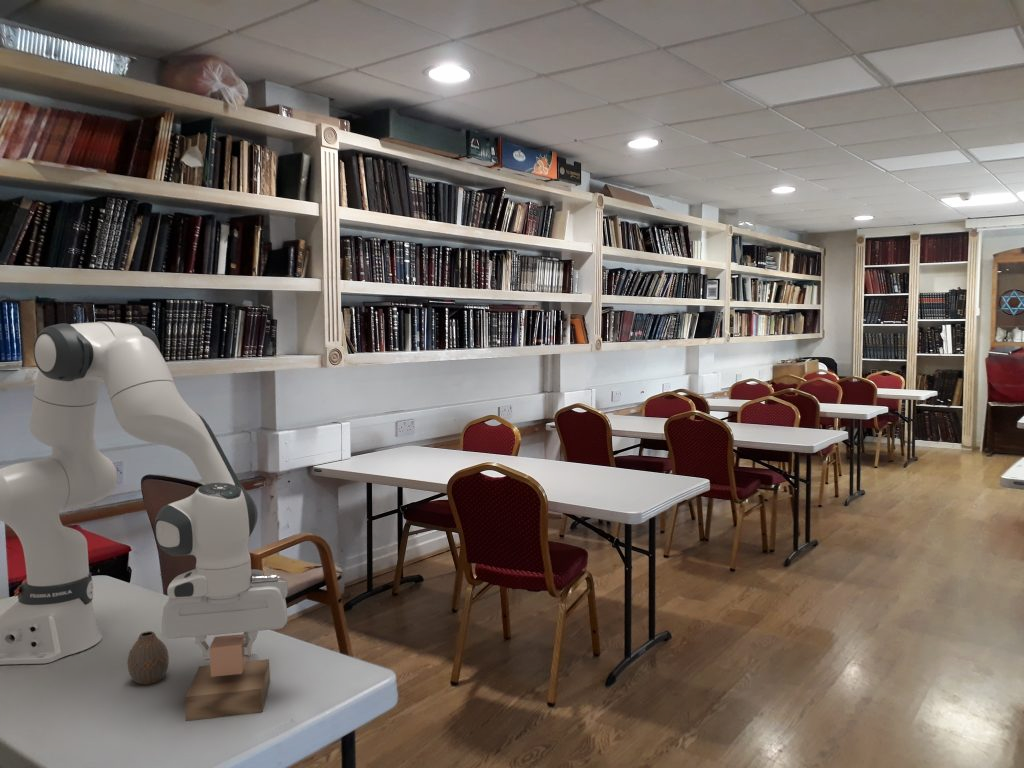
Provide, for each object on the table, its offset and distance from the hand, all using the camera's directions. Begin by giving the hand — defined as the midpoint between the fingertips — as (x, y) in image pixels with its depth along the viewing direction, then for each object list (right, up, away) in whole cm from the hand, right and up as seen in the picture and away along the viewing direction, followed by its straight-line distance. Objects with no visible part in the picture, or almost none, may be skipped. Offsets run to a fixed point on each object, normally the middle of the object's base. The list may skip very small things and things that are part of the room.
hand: (228, 657), depth 134 cm
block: (0, -2, 0) cm, 2 cm away
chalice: (-1, -7, +13) cm, 15 cm away
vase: (-18, -8, +9) cm, 21 cm away
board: (0, -8, 0) cm, 8 cm away
